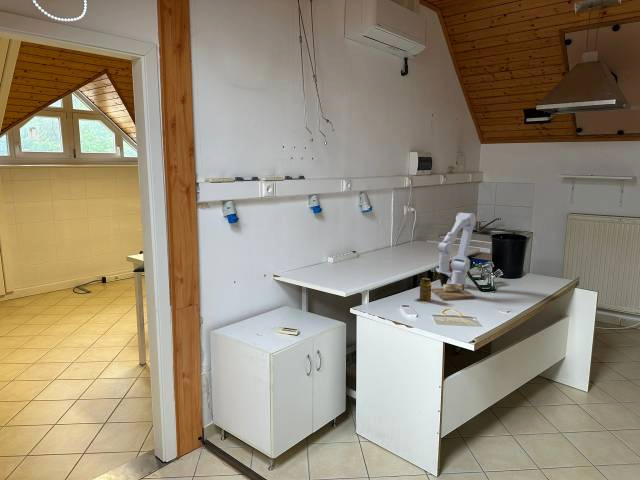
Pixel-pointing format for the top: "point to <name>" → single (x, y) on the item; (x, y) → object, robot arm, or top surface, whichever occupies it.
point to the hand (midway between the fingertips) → (443, 286)
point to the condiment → (425, 290)
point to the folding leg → (453, 287)
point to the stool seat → (452, 294)
